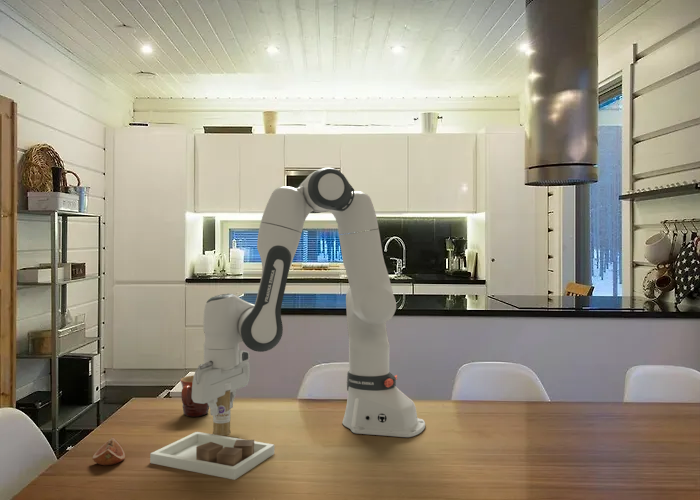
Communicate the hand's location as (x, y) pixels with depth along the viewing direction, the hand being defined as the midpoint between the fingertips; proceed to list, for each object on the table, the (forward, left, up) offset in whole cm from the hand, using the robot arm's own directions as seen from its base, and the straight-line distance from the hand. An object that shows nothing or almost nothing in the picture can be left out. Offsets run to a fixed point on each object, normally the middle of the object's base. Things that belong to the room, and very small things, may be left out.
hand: (221, 411), depth 147 cm
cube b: (-10, +19, -5) cm, 22 cm away
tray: (-9, +15, -6) cm, 19 cm away
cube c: (-16, +14, -5) cm, 22 cm away
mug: (+17, -11, -6) cm, 21 cm away
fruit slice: (+11, +26, -6) cm, 29 cm away
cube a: (-16, +19, -5) cm, 25 cm away
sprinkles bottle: (0, 0, -6) cm, 6 cm away
